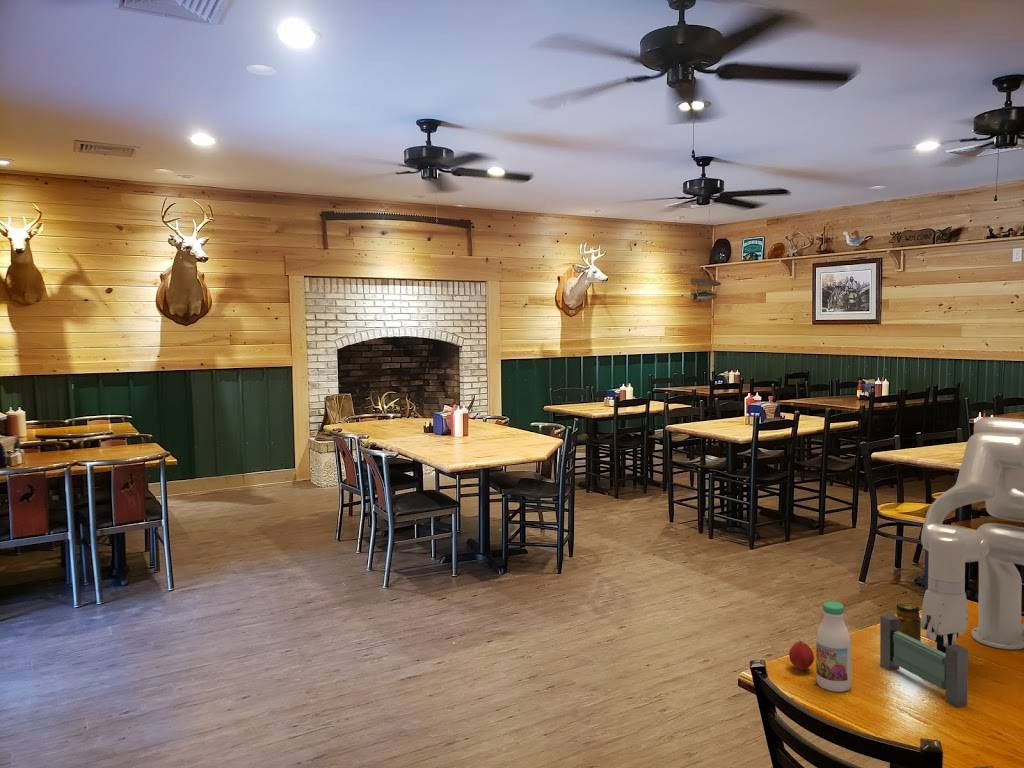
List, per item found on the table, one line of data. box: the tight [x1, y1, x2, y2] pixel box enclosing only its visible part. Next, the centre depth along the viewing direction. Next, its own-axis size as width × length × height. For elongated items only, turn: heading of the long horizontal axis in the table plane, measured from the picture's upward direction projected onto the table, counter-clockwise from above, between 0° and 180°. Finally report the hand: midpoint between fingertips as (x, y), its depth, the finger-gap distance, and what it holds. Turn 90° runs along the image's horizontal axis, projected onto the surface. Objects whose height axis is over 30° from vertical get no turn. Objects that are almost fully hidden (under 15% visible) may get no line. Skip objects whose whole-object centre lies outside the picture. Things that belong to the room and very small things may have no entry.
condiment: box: [894, 602, 922, 642], centre depth 193 cm, size 7×8×12 cm
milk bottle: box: [815, 601, 852, 693], centre depth 176 cm, size 8×8×20 cm
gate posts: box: [879, 613, 969, 708], centre depth 175 cm, size 3×22×13 cm, turn 18°
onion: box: [788, 639, 815, 672], centre depth 185 cm, size 6×6×8 cm
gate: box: [893, 631, 946, 691], centre depth 175 cm, size 14×2×8 cm, turn 18°
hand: (944, 659), depth 177 cm, fingers closed
